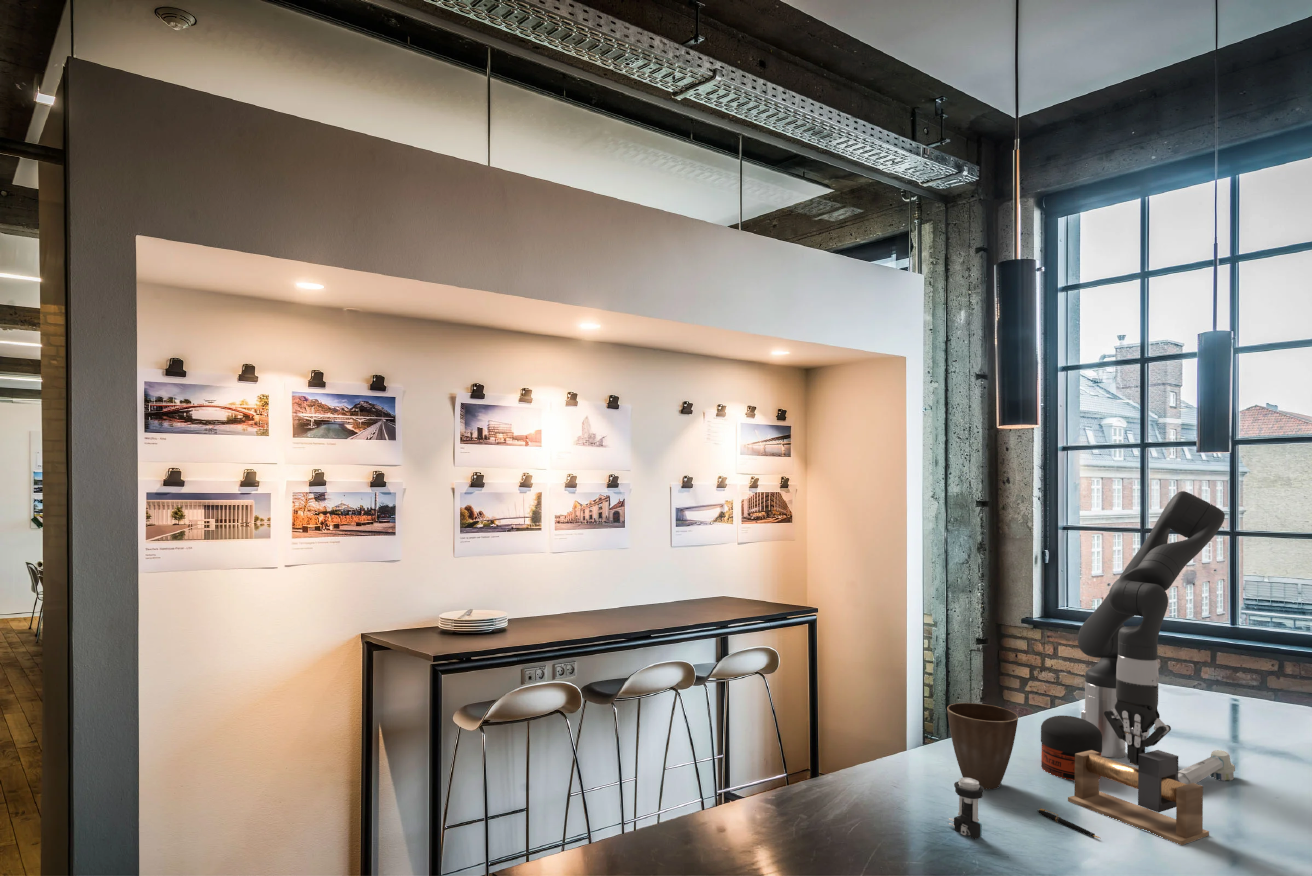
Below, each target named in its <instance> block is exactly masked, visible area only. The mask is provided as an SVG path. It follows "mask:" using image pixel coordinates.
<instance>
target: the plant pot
mask: <svg viewBox="0 0 1312 876" xmlns="http://www.w3.org/2000/svg"><path fill="white" fill-rule="evenodd" d="M946 709H947V711H946V712H947V718H948V719H947V720H948V726H949V731H950V736H951V742H952V746H953V750H954V753H955V758H956V761H957V765H958V768H959V771H960V774H961V776H962V778H972V779H975V780H977V781H978V782H979V785H981V786H982V787H983V788H984V790H997V789H998V788H1000V786H1001V784H1002V781H1003V778H1004V776H1005V773H1006V771H1007V768H1008V765H1009V762H1010V759H1011V756H1012V752H1013V748H1014V745H1015V740H1016V736H1017V735H1016V733H1017V727H1018V721H1019V716H1018V714H1017V713H1016V712H1014V711H1012V710H1010V709H1007V708H1005V707H999V706H996V705H991V704H984V703H975V702H973V703H972V702H959V703H953V704H949V705H948V706H947V707H946Z"/></svg>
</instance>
